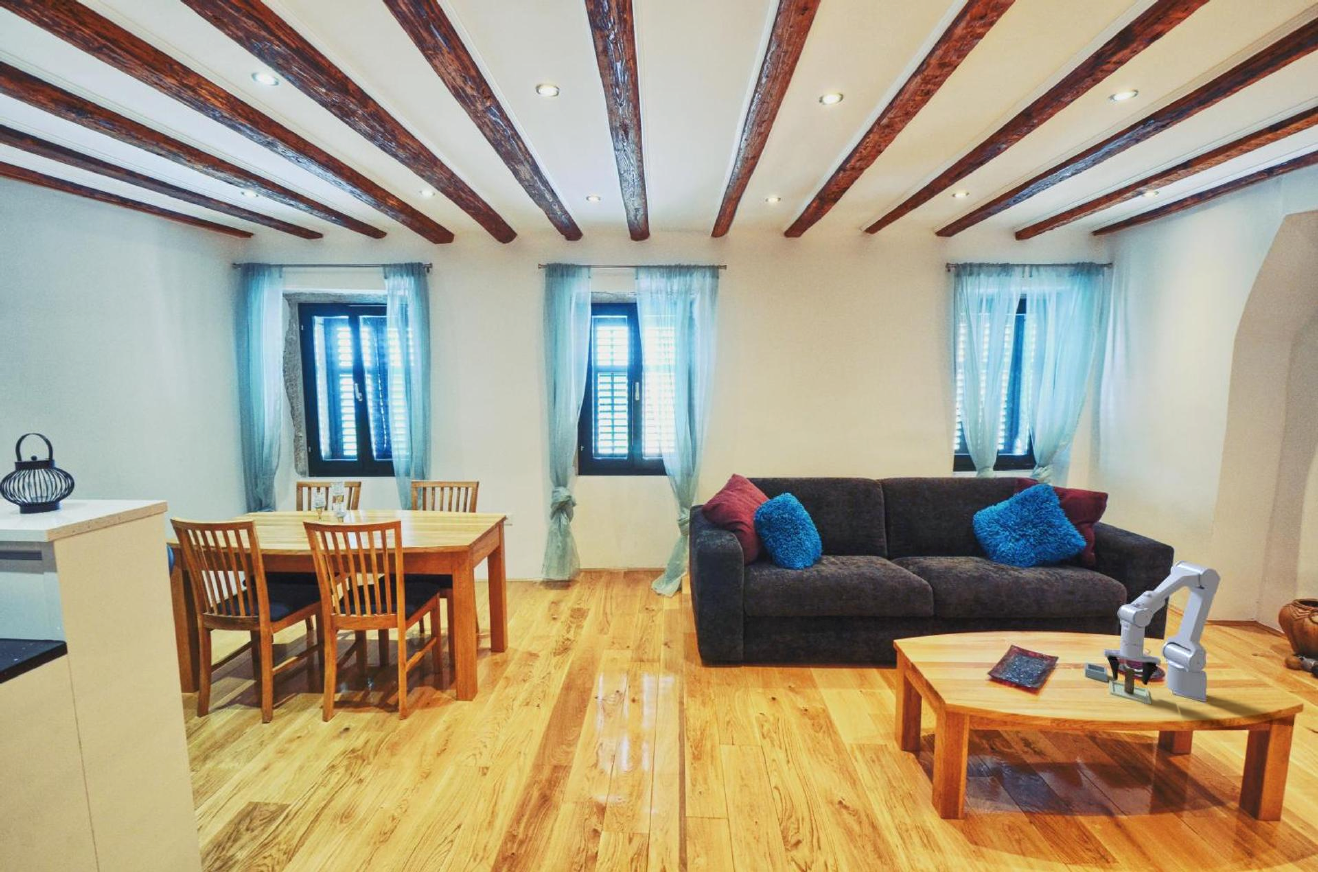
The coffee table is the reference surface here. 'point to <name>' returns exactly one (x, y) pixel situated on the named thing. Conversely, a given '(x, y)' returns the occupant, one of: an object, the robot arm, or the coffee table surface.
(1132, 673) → the dowel
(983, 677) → the coffee table surface
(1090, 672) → the grey open box
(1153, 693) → the coffee table surface
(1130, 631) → the robot arm
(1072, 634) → the coffee table surface
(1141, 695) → the tray
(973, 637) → the coffee table surface
